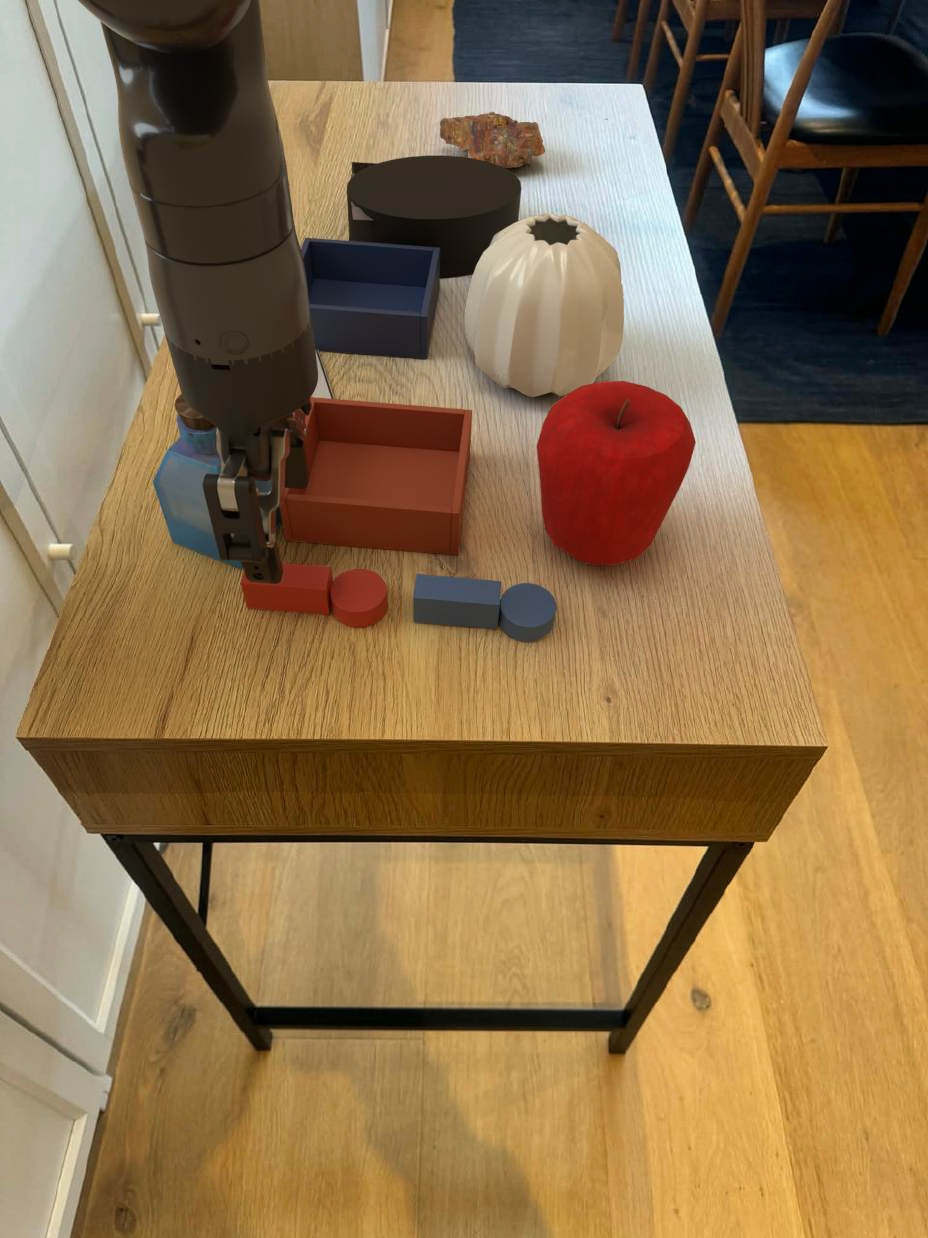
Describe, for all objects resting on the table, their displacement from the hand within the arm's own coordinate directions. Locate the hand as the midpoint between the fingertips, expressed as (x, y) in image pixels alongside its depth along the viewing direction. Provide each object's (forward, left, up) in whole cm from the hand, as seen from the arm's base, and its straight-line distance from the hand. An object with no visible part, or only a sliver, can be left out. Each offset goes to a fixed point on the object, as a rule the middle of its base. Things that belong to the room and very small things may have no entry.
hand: (280, 530), depth 58 cm
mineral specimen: (+10, +69, -8) cm, 71 cm away
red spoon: (+2, 0, -7) cm, 8 cm away
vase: (+17, +29, -8) cm, 35 cm away
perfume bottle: (-6, +6, -8) cm, 12 cm away
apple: (+22, +8, -8) cm, 25 cm away
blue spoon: (+14, 0, -7) cm, 16 cm away
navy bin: (0, +35, -7) cm, 36 cm away
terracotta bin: (+5, +11, -7) cm, 14 cm away
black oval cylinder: (+5, +50, -8) cm, 51 cm away
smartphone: (-6, +24, -8) cm, 26 cm away
